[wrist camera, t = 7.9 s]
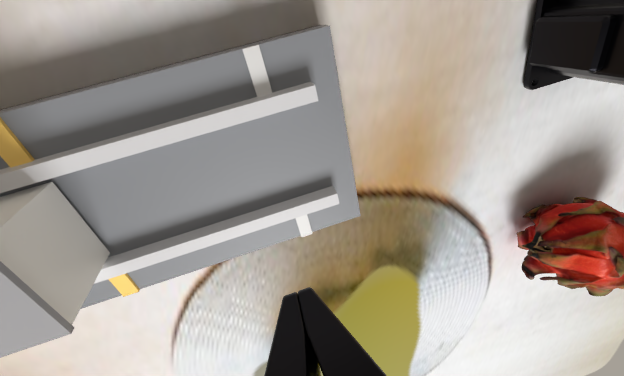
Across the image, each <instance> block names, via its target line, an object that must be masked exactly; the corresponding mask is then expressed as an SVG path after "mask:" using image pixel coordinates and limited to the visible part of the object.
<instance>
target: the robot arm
mask: <svg viewBox="0 0 624 376" xmlns="http://www.w3.org/2000/svg"><path fill="white" fill-rule="evenodd" d="M573 77H577V78H583V79H590V80H596V81H603V82H609V83H615V84H622V85H624V0H538V1H537V7H536V13H535V19H534V25H533V31H532V37H531V43H530V49H529V55H528V61H527V67H526V73H525V79H524V87H525V88H526V89H530V90H534V89H537V88H540V87H544V86H547V85H550V84H553V83H557V82H560V81H563V80H566V79H570V78H573ZM319 366H320V367H319ZM320 368H321V371H322V373H323V376H386V374H385V373H384V372H383V371H382V370H381V369H380V367H379V366H378V365H377V364H376V363H375V362H374V360H373V359H372V358H371V357H370V356H369V355H368V353H367V352H366V351H365V350H364V349H363V348H362V346H361V345H360V344H359V343H358V342H357V341H356V339H355V338H354V337H353V336H352V335H351V333H350V332H349V331H348V330H347V329H346V328H345V327H344V326H343V324H342V323H341V322H340V321H339V319H338V318H337V317H336V316H335V315H334V314H333V312H332V311H331V310H330V309H329V308H328V307H327V305H326V304H325V303H324V302H323V301H322V300H321V298H320V297H319V296H318V295H317V294H316V293H315V291H314V290H313V289H312V288H310V287H309V288H306V289H303V290H300V291H299V292H298V293H296V292H294V293H291V294H289V295H286V296H284V297H283V300H282V304H281V308H280V312H279V317H278V321H277V325H276V329H275V333H274V338H273V342H272V346H271V350H270V354H269V359H268V363H267V368H266V371H265V375H264V376H321V372H320Z"/></svg>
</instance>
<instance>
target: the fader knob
mask: <svg viewBox="0 0 624 376" xmlns="http://www.w3.org/2000/svg"><path fill="white" fill-rule="evenodd" d="M109 254H110V252H109V251H108V250H107V248H106V247H105V246H104V245H103V243H102V242H101V241H100V240H99V239H98V237H97V236H96V235H95V234H94V232H93V231H92V230H91V229H90V227H89V226H88V225H87V224H86V223H85V221H84V220H83V219H82V218H81V216H80V215H79V214H78V213H77V211H76V210H75V209H74V208H73V207H72V205H71V204H70V203H69V202H68V200H67V199H66V198H65V197H64V195H63V194H62V193H61V192H60V191H59V189H58V188H57V187H56V186H55V184H54V183H53V182H50V183H46V184H43V185H39V186H36V187H32V188H29V189H26V190H22V191H19V192H15V193H12V194H8V195H5V196H1V197H0V358H1V357H4V356H6V355H9V354H12V353H15V352H18V351H21V350H24V349H27V348H30V347H33V346H36V345H39V344H42V343H45V342H48V341H51V340H54V339H57V338H60V337H63V336H66V335H68V334H71V333H72V331H73V329H74V327H73V326H72V323H73V322H74V320H75V318H76V316H77V314H78V312H79V310H80V308H81V307H82V305H83V303H84V301H85V299H86V297H87V295H88V293H89V291H90V290H91V288H92V286H93V284H94V282H95V280H96V278H97V276H98V275H99V273H100V271H101V269H102V267H103V265H104V263H105V261H106V259H107V258H108V256H109Z"/></svg>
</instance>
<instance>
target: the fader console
mask: <svg viewBox="0 0 624 376" xmlns="http://www.w3.org/2000/svg"><path fill="white" fill-rule="evenodd" d="M50 182H53V183H54V184H55V186H56V187H57V188H58V189H59V191H60V192H61V193H62V194H63V195H64V197H65V198H66V199H67V200H68V202H69V203H70V204H71V205H72V207H73V208H74V209H75V210H76V211H77V213H78V214H79V215H80V216H81V218H82V219H83V220H84V221H85V223H86V224H87V225H88V226H89V227H90V229H91V230H92V231H93V232H94V234H95V235H96V236H97V237H98V239H99V240H100V241H101V242H102V243H103V245H104V246H105V247H106V248H107V250H108V251H109V252H110V254H109V256H108V258H107V259H106V261H105V263H104V265H103V267H102V269H101V271H100V273H99V275H98V276H97V278H96V280H95V282H94V284H93V286H92V288H91V290H90V291H89V293H88V295H87V297H86V299H85V301H84V303H83V305H82V307H81V308H80V309H82V308H85V307H88V306H91V305H94V304H97V303H100V302H103V301H106V300H109V299H112V298H115V297H118V296H121V295H122V296H123V297H124V296H127V295H130V294H133V293H136V292H139V290H140V289H142V288H145V287H148V286H151V285H154V284H157V283H160V282H163V281H166V280H169V279H172V278H175V277H178V276H181V275H184V274H187V273H190V272H193V271H196V270H199V269H202V268H205V267H208V266H211V265H214V264H217V263H220V262H223V261H226V260H229V259H232V258H235V257H238V256H241V255H244V254H247V253H250V252H253V251H256V250H259V249H262V248H265V247H268V246H271V245H274V244H277V243H280V242H283V241H286V240H289V239H292V238H295V237H298V236H301V237H304V236H307V235H310V234H313V233H312V232H313V231H316V230H319V229H322V228H325V227H328V226H331V225H334V224H337V223H340V222H343V221H346V220H349V219H352V218H355V217H358V216H360V210H359V204H358V198H357V192H356V185H355V179H354V173H353V167H352V161H351V155H350V148H349V142H348V136H347V130H346V124H345V118H344V111H343V105H342V99H341V93H340V87H339V81H338V74H337V68H336V62H335V56H334V50H333V44H332V37H331V31H330V26H326V25H319V26H315V27H311V28H307V29H304V30H300V31H296V32H292V33H289V34H285V35H281V36H277V37H273V38H270V39H266V40H262V41H258V42H255V43H251V44H247V45H243V46H240V47H236V48H232V49H228V50H225V51H221V52H217V53H213V54H209V55H206V56H202V57H198V58H194V59H191V60H187V61H183V62H179V63H176V64H172V65H168V66H164V67H161V68H157V69H153V70H149V71H145V72H142V73H138V74H134V75H130V76H127V77H123V78H119V79H115V80H112V81H108V82H104V83H100V84H97V85H93V86H89V87H85V88H82V89H78V90H74V91H70V92H66V93H63V94H59V95H55V96H51V97H48V98H44V99H40V100H36V101H33V102H29V103H25V104H21V105H18V106H14V107H10V108H6V109H2V110H0V197H1V196H5V195H8V194H12V193H15V192H19V191H22V190H26V189H29V188H32V187H36V186H39V185H43V184H46V183H50Z"/></svg>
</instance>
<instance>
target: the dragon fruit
mask: <svg viewBox="0 0 624 376" xmlns="http://www.w3.org/2000/svg"><path fill="white" fill-rule="evenodd" d="M523 217H530V219H531V220H532V221H533V222H534V223H535V225H534V226H530V227H528V228H526V229H525V231H520V232H518V233H517V236H518V247H520V248H521V249H525V250H529V251H528V255H527V256H526V257H525V258H524V261H523V262H522V271H523V272H524V273H525V275H526V277H527V278H529V279H530V280H532V279H534V276H535V275H537V274H542V273H556V275H557V277H542V278H540V279H541V280H558V284H559V285H562V286H565V287H568V288H571V289H575V288H582V287H586V288H587V290H588V292H589V294H590V295H593V296H605V295H607V294H609V293H610V292H611V291H612V290H613V289H615V288H620V289H624V213H623V212H619V211H617V210H615V209H613V208H612V207H610V206H609V205H607V204H605V203H603V202H601V201H596V200H593V199H588V198H584V197H575V198H574V200H573V203H571V204H565V205H561V204H552V205H548V206H545V205H541V206H539V207H537V208H534V209H532V210H531V211H529V212H528V213H526V215H524V216H523Z"/></svg>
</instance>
